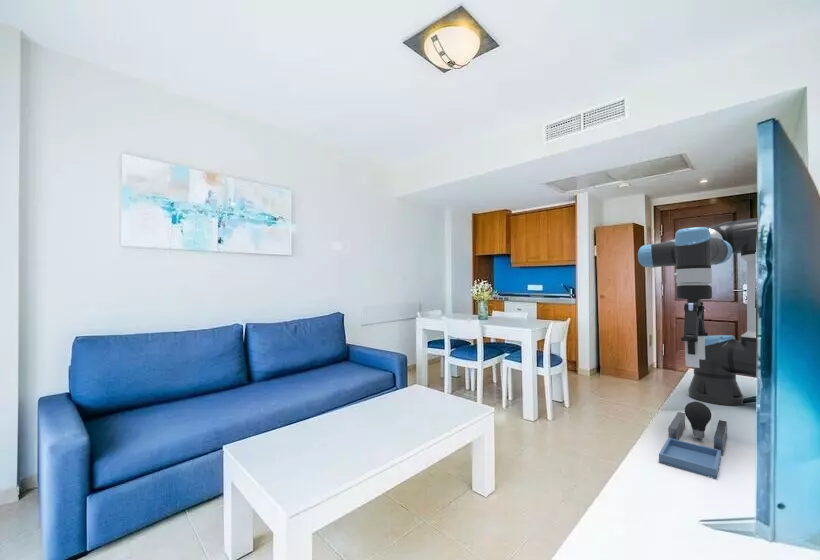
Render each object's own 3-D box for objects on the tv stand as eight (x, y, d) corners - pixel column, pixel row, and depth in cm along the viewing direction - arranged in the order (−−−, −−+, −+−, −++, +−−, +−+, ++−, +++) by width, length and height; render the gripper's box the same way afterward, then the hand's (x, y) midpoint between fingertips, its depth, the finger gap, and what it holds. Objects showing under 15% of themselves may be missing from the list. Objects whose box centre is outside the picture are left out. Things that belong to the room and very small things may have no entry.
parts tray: (668, 445, 90) (668, 437, 90) (721, 458, 83) (720, 450, 83) (659, 462, 81) (658, 453, 81) (716, 479, 74) (716, 469, 74)
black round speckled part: (713, 445, 89) (712, 406, 90) (685, 440, 93) (684, 402, 93) (711, 438, 94) (710, 401, 94) (685, 433, 97) (683, 397, 97)
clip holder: (678, 425, 103) (678, 411, 103) (727, 436, 95) (726, 421, 95) (668, 442, 91) (668, 427, 92) (723, 456, 84) (722, 439, 84)
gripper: (683, 285, 106) (685, 354, 105) (668, 284, 88) (670, 368, 88) (715, 284, 100) (718, 357, 100) (706, 284, 83) (709, 373, 82)
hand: (695, 362), depth 94 cm, fingers open, 13 cm apart
